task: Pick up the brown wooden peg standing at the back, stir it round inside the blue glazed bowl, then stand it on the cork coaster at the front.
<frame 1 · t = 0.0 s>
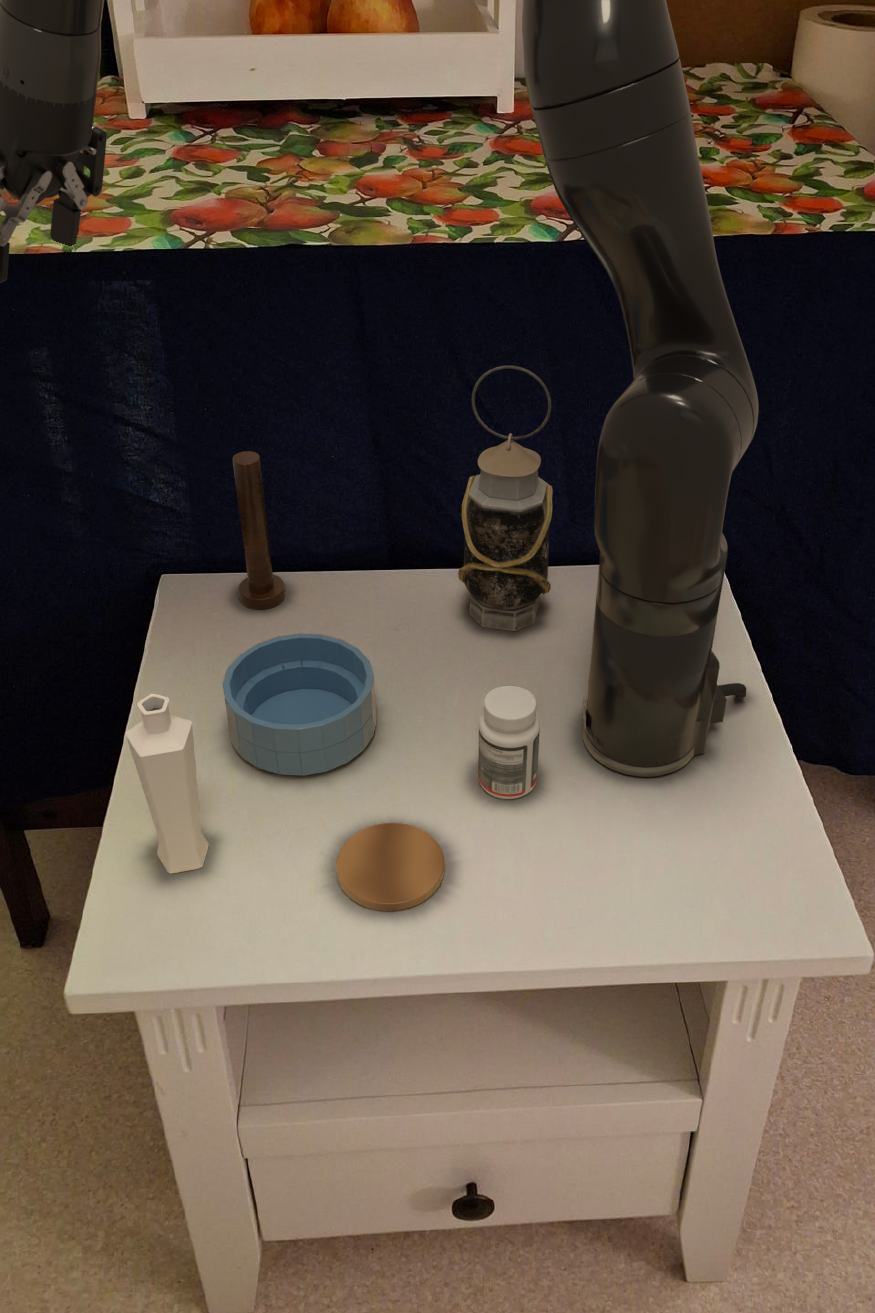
hand: (29, 259, 102), 31 cm above the table, tool tilted 20°, fingers open, 8 cm apart
brown wooden peg: (262, 596, 118), on the table
lantern: (504, 612, 116), on the table
bowl: (303, 729, 103), on the table
coaster: (390, 869, 91), on the table
perfume bottle: (182, 858, 92), on the table
pill bottle: (507, 781, 98), on the table
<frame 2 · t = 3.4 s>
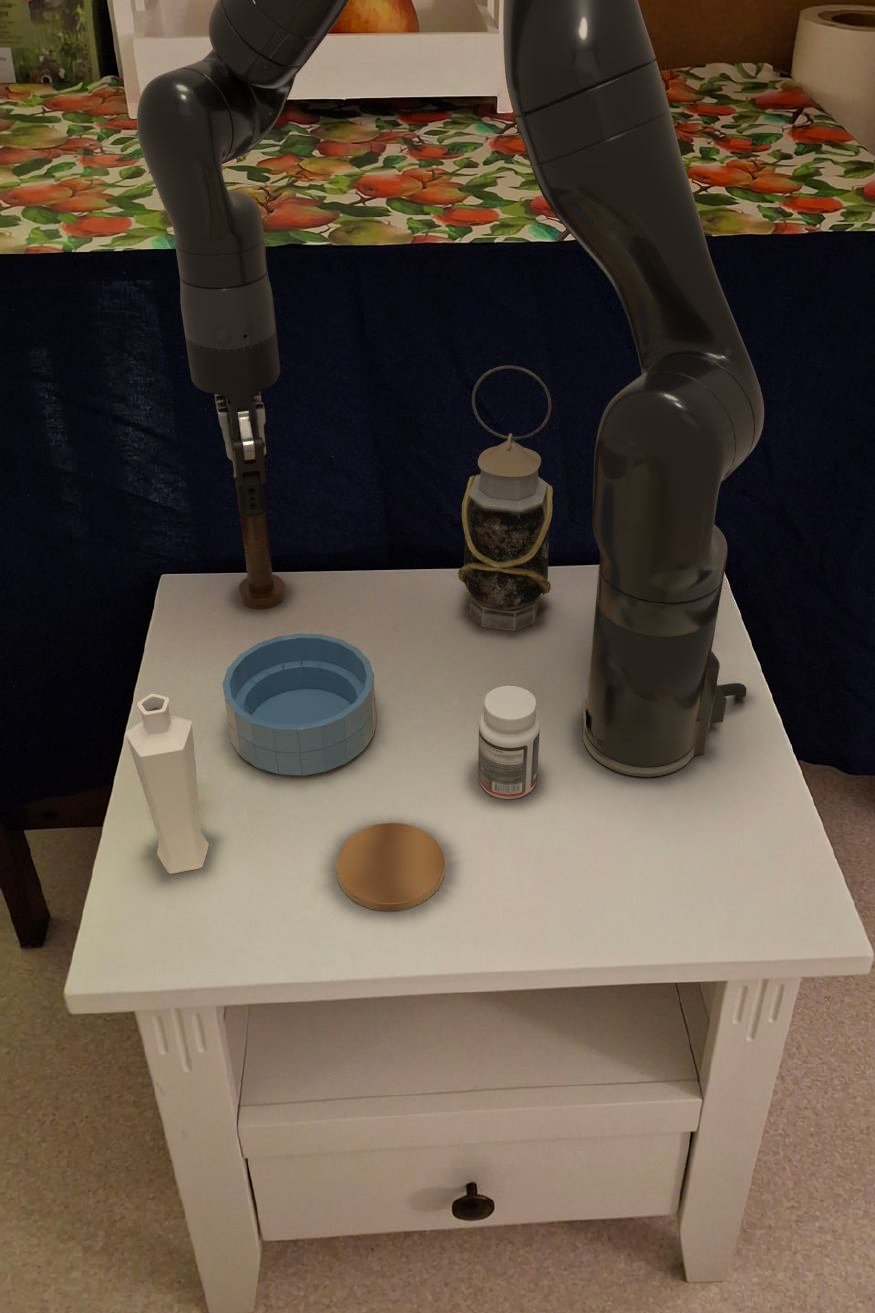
hand: (251, 504, 112), 10 cm above the table, tool pointing down, fingers closed on brown wooden peg, 2 cm apart
brown wooden peg: (262, 596, 118), on the table, touching gripper
everything else where it was.
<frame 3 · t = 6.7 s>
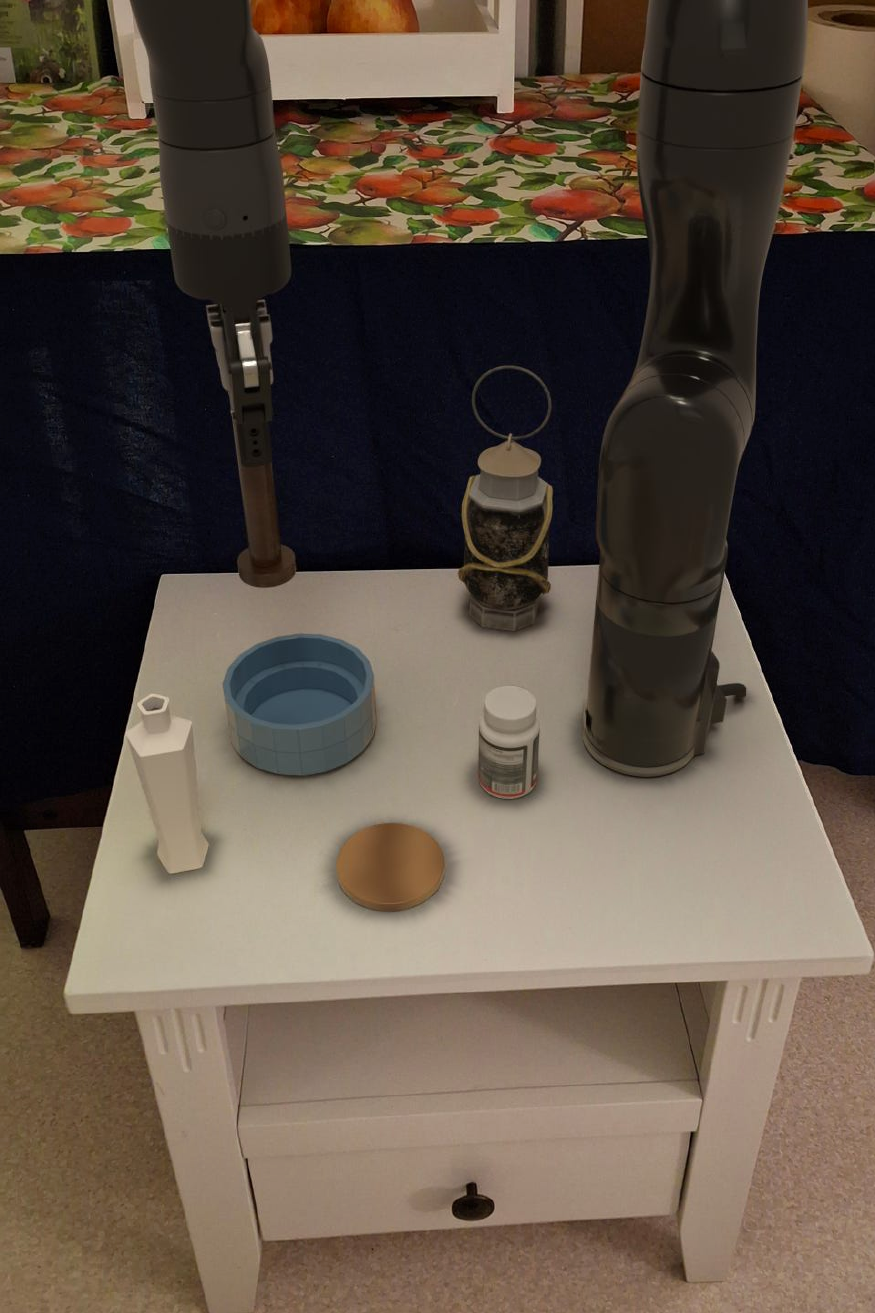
hand: (254, 452, 87), 26 cm above the table, tool pointing down, fingers closed on brown wooden peg, 2 cm apart
brown wooden peg: (267, 571, 93), point 16 cm above the table, touching gripper
everything else where it was.
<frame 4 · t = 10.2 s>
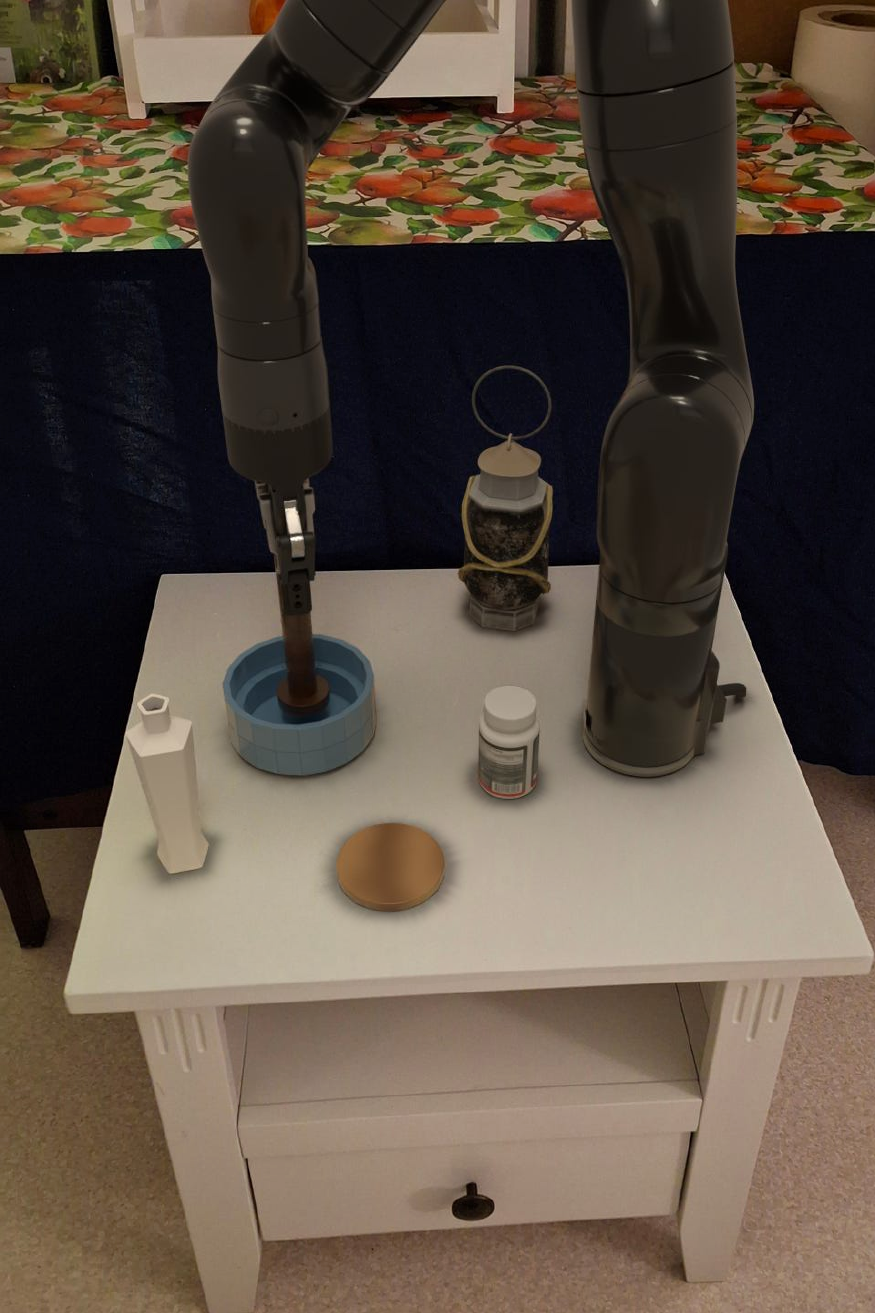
hand: (294, 600, 96), 13 cm above the table, tool pointing down, fingers closed on brown wooden peg, 2 cm apart
brown wooden peg: (303, 699, 102), point 2 cm above the table, touching gripper
everything else where it was.
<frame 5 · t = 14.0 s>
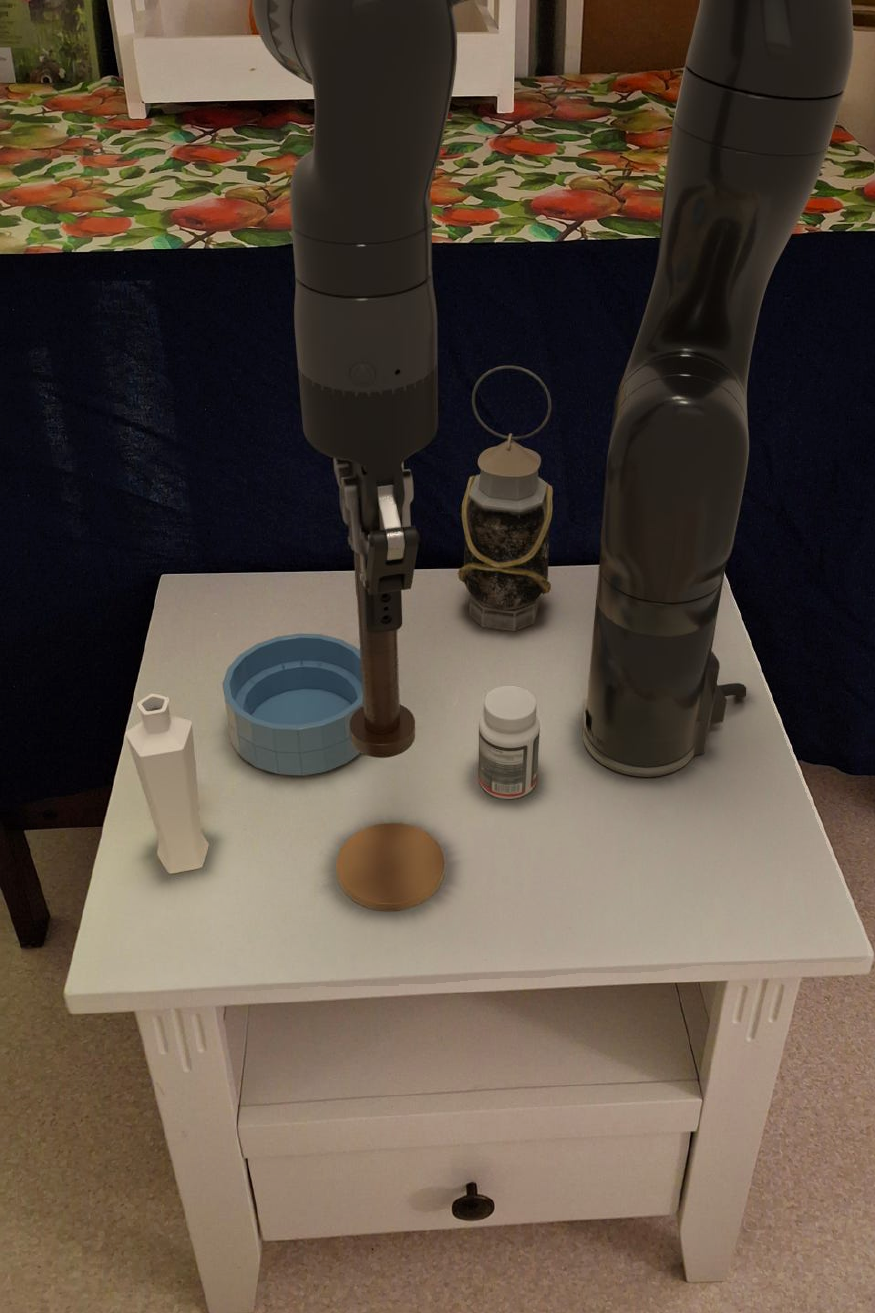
hand: (379, 613, 76), 24 cm above the table, tool pointing down, fingers closed on brown wooden peg, 2 cm apart
brown wooden peg: (382, 735, 82), point 13 cm above the table, touching gripper
everything else where it was.
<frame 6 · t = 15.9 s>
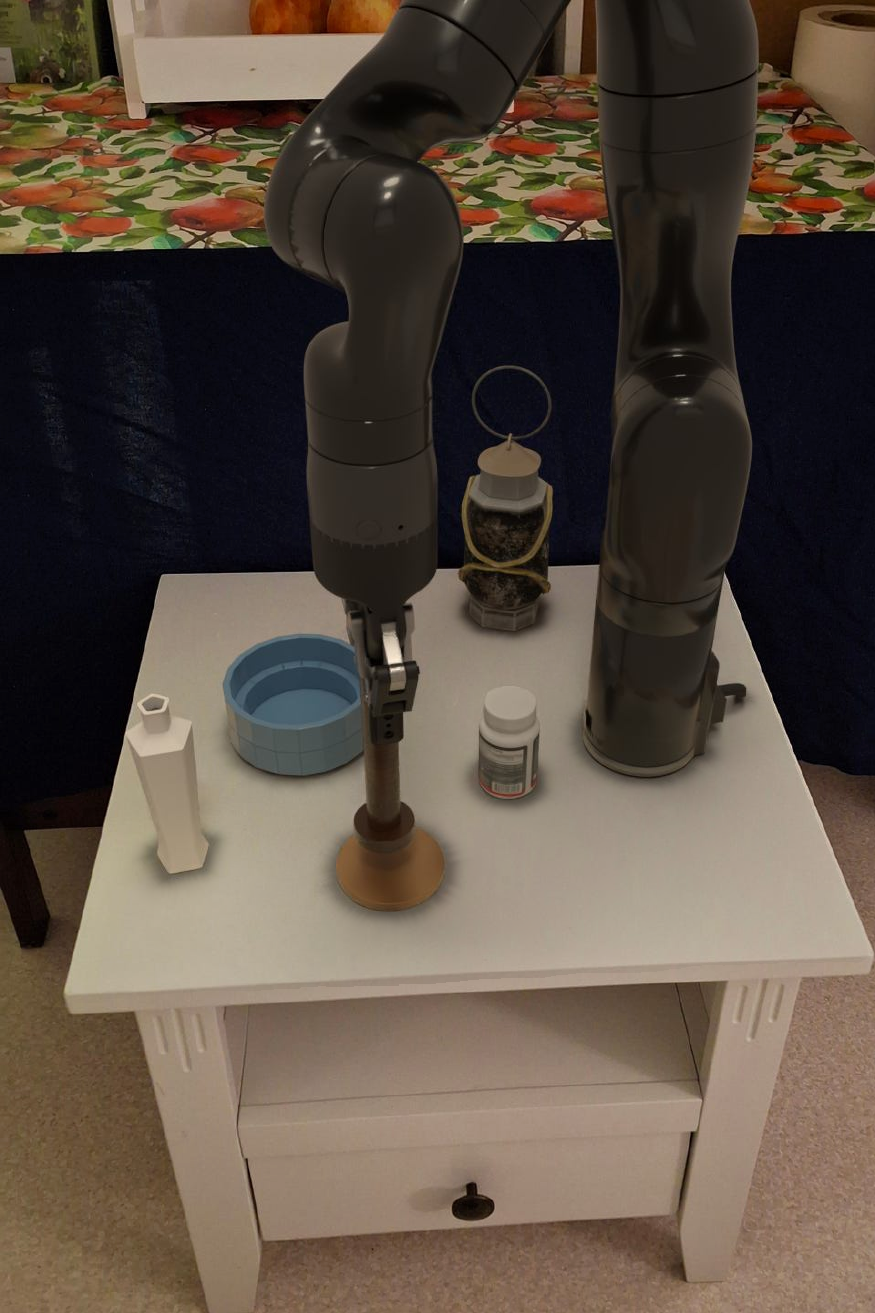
hand: (382, 724, 82), 14 cm above the table, tool pointing down, fingers closed on brown wooden peg, 2 cm apart
brown wooden peg: (384, 831, 88), point 4 cm above the table, touching gripper
everything else where it was.
when the fingers open (11 cm above the table, at t = 17.0 s): brown wooden peg stays where it is, resting on coaster.
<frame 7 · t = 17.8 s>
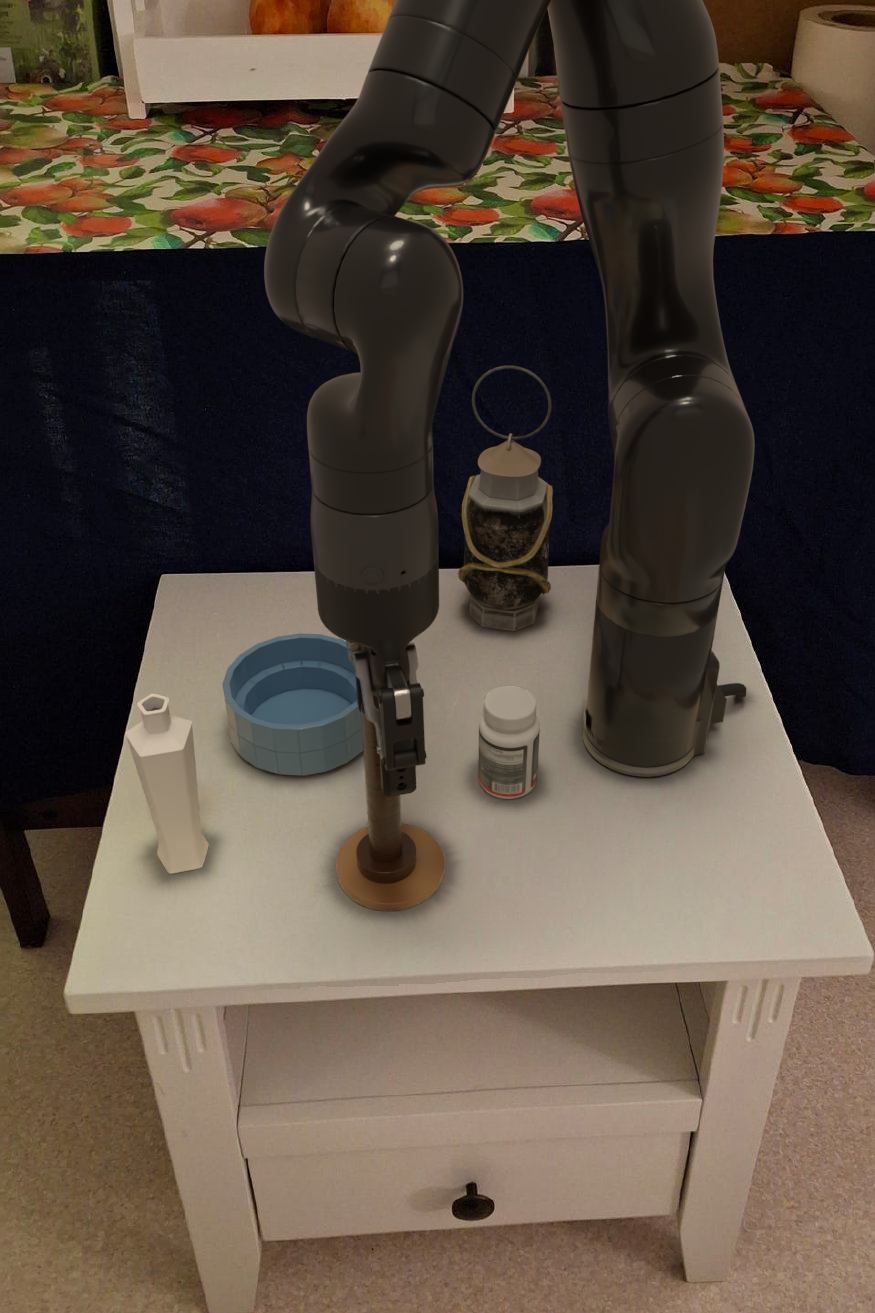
hand: (385, 748, 83), 12 cm above the table, tool pointing down, fingers open, 8 cm apart
brown wooden peg: (386, 861, 90), point 1 cm above the table, touching coaster
everything else where it was.
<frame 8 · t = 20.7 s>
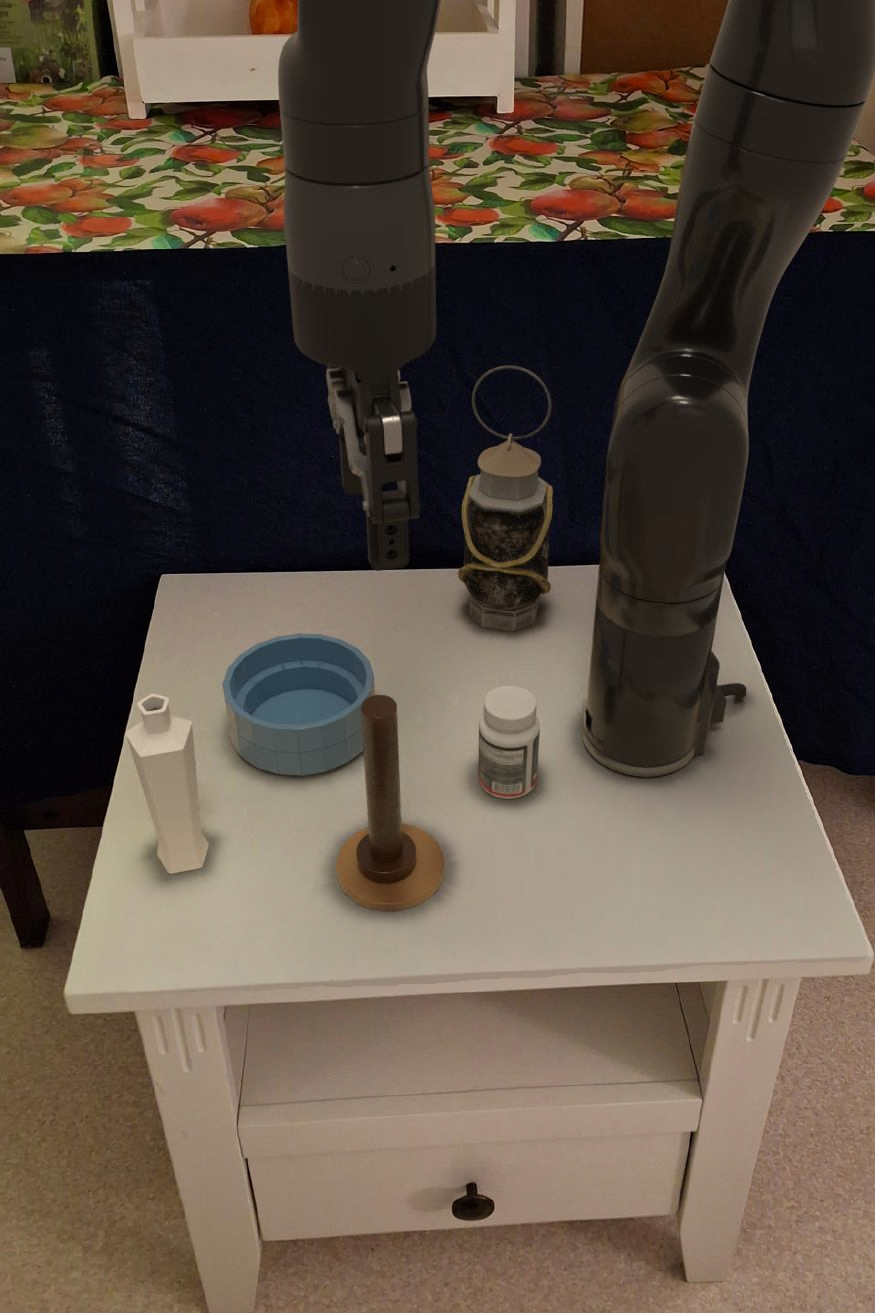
hand: (374, 526, 72), 30 cm above the table, tool pointing down, fingers open, 8 cm apart
nothing on the table moved.
at the end: brown wooden peg 0.3 cm off-centre on the coaster, point 0.8 cm above the coaster's base; brown wooden peg tilted 0°; brown wooden peg moved 37.2 cm from its start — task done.
